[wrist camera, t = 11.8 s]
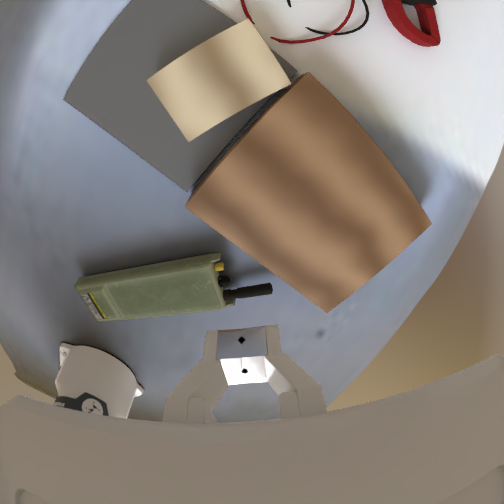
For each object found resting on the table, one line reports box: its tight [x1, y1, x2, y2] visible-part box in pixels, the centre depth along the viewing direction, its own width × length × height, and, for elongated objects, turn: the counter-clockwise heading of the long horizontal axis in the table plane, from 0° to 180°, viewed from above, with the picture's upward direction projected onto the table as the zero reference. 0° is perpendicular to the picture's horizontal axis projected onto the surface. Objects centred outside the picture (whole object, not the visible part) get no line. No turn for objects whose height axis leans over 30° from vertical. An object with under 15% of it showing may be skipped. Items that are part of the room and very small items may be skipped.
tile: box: [146, 19, 291, 142], centre depth 20 cm, size 10×7×2 cm
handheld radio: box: [75, 253, 273, 322], centre depth 32 cm, size 7×3×25 cm
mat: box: [63, 0, 298, 192], centre depth 21 cm, size 16×18×1 cm
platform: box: [185, 72, 432, 313], centre depth 27 cm, size 16×20×4 cm
